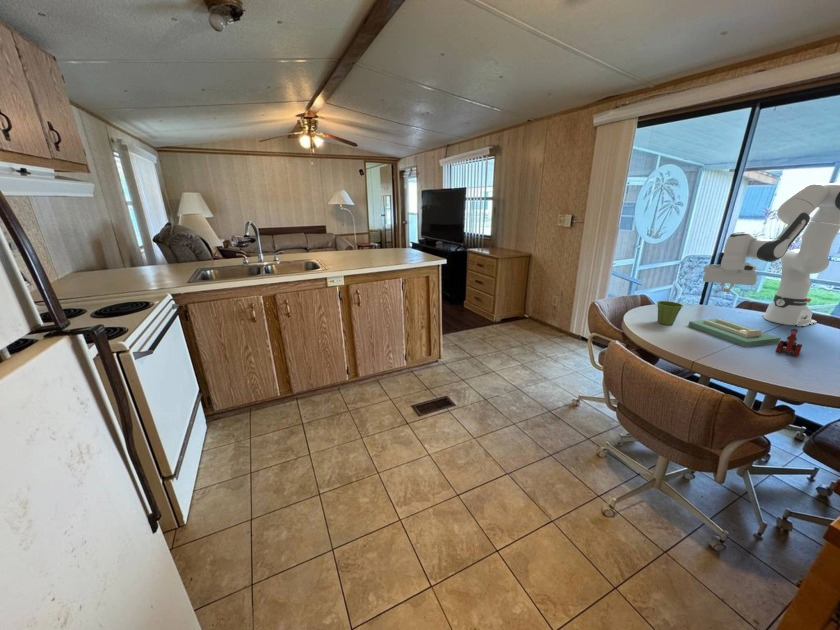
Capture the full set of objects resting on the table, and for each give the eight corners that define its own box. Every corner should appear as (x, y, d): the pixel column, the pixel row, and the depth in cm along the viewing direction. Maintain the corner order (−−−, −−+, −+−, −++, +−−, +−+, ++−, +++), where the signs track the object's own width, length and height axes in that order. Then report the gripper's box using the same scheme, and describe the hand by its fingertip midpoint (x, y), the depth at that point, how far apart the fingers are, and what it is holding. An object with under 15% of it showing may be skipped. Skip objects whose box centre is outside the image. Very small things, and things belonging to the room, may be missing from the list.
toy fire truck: (800, 350, 150) (808, 329, 146) (797, 358, 142) (806, 336, 139) (778, 346, 155) (786, 325, 152) (774, 353, 148) (782, 331, 144)
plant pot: (683, 326, 180) (689, 306, 176) (661, 327, 180) (666, 307, 176) (668, 319, 191) (672, 300, 187) (647, 319, 191) (651, 300, 187)
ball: (734, 332, 167) (739, 327, 164) (745, 334, 166) (749, 328, 163) (736, 338, 165) (740, 333, 162) (746, 340, 163) (751, 334, 161)
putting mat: (688, 325, 180) (690, 316, 179) (718, 322, 184) (721, 313, 182) (744, 346, 154) (748, 335, 153) (778, 342, 158) (782, 332, 156)
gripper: (705, 264, 173) (699, 290, 177) (760, 267, 160) (753, 295, 165) (705, 263, 177) (699, 288, 181) (758, 265, 165) (751, 292, 169)
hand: (725, 291), depth 173 cm, fingers closed
